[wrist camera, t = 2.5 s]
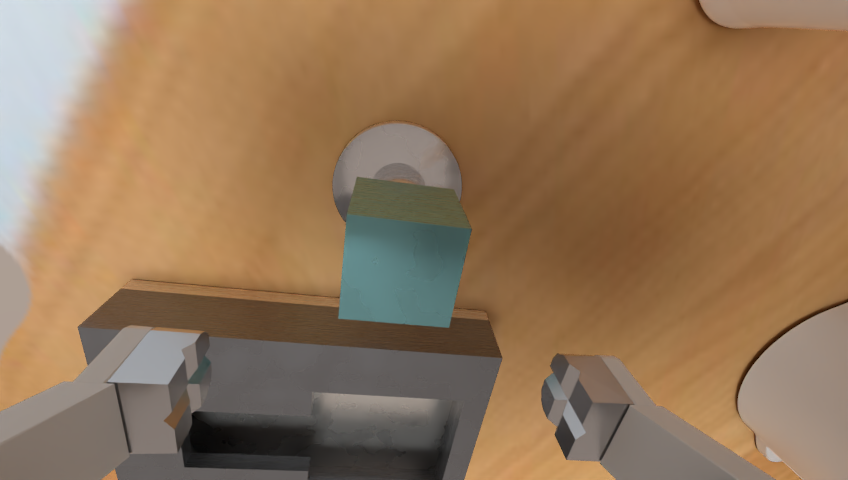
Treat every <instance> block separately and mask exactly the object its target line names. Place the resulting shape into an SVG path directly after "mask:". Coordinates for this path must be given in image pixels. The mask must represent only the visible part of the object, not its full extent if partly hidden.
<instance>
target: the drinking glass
mask: <svg viewBox="0 0 848 480" xmlns="http://www.w3.org/2000/svg"><path fill="white" fill-rule="evenodd" d="M699 2H700V5H701V7H702V9H703V11H704V12H705V14H706V15H707V16H708V17H709V18H710V19H711V20H712V21H714V22H715V23H717V24H719V25H721V26H724V27H727V28H734V29H746V28H764V27H768V28H792V29H812V30H832V31H848V0H699Z"/></svg>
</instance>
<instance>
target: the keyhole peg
mask: <svg viewBox="0 0 848 480" xmlns="http://www.w3.org/2000/svg"><path fill="white" fill-rule="evenodd" d="M461 192H462V180H461V173H460V169H459V166H458V164H457V161H456V159H455V157H454V155H453V154H452V152H451V150H450V149H449V147H448V146H447V145H446V143H445V142H444V141H443V140H442V139H441V138H440V137H439V136H438V135H437V134H435V133H434V132H432V131H431V130H429V129H427V128H426V127H424V126H421V125H419V124H416V123H412V122H407V121H386V122H381V123H378V124H375V125H372V126H370V127H368V128H366V129H364V130H363V131H361V132H360V133H358V134H357V135H356V136H355V137H354V138H352V139H351V140H350V142H349V143H348V144H347V145H346V147H345V148H344V150H343V151H342V153H341V155H340V157H339V160H338V162H337V164H336V167H335V170H334V175H333V196H334V200H335V204H336V207H337V209H338V211H339V213H340V215H341V217H342V218H343V220H344V221H345V222H346V231H345V243H344V255H343V267H342V280H341V292H340V304H339V316H338V319H348V320H360V321H372V322H385V323H397V324H409V325H421V326H433V327H445V328H449V326H450V321H451V317H452V313H453V308H454V304H455V300H456V295H457V291H458V287H459V282H460V278H461V274H462V269H463V265H464V261H465V256H466V252H467V248H468V243H469V239H470V235H471V230H472V228H471V226H470V224H469V222H468V219H467V217H466V215H465V213H464V210H463V208H462V206H461V204H460V199H461Z"/></svg>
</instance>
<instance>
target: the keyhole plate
mask: <svg viewBox="0 0 848 480" xmlns="http://www.w3.org/2000/svg"><path fill="white" fill-rule="evenodd" d="M339 304H340V298H333V297H322V296H311V295H300V294H289V293H278V292H266V291H255V290H244V289H233V288H222V287H211V286H199V285H188V284H177V283H166V282H155V281H144V280H132V279H131V280H130V281H129V282H128V283H127V284H126V285H125V286H123V287H122V288H121V289H120V290H119V291H118V292H117V293H115V294H114V295H113V296H112V297H111V298H110V299H109V300H108V301H106V302H105V303H104V304H103V305H102V306H101V307H100V308H99V309H97V310H96V311H95V312H94V313H93V314H92V315H91V316H90V317H88V318H87V319H86V320H85V321H84V322H83V323H82V324H81V325H79V326H78V330H79V334H80V338H81V341H82V345H83V349H84V353H85V357H86V360H87V364H88V365H89V364H90V363H91V362H92V361H93V360H94V359H95V358H96V357H97V356H98V355H99V353H100V352H101V351H102V350H103V349H104V348H105V347H106V346H107V345H108V344H109V343H110V342H111V341H112V340H113V339H114V338H115V336H116V335H117V334H118V333H119V332H120V331H121V330H122V329H123V328H125V327H128V326H130V325H133V326H145V327H155V328H156V327H162V328H174V329H185V330H197V331H205V332H207V333H208V334H209V343H210V347H209V349H208V351H207V352H206V354H205V356H206V357H207V358H208V359H209V360H210V362H211V368H212V373H211V382H210V386H209V389H208V393H207V396H206V398H205V400H204V402H203V404H202V406H201V407H200V408H199V409H197V410H196V411H194V412H193V413H191V416H192V426H191V428H190V430H189V432H188V434H187V436H186V438H185V440H184V442H183V444H182V446H181V448H180V450H179V452H178V453H173V454H129V455H130V456H129V457H128V458H127V459H126V460H125V461H124V462H122V463H121V464H120V465H119V466H117V467H116V468H115V470H116V474H117V478H118V480H464V478H465V475H466V472H467V469H468V466H469V463H470V459H471V456H472V453H473V450H474V447H475V443H476V440H477V437H478V434H479V431H480V428H481V424H482V421H483V418H484V415H485V412H486V409H487V405H488V402H489V399H490V396H491V393H492V389H493V386H494V383H495V380H496V377H497V374H498V370H499V367H500V364H501V361H502V356H501V353H500V350H499V347H498V345H497V342H496V339H495V336H494V333H493V331H492V328H491V325H490V322H489V319H488V317H487V314H486V311H479V310H467V309H456V308H453V313H452V317H451V321H450V326H449V328H445V327H433V326H421V325H409V324H397V323H385V322H372V321H360V320H348V319H338V316H339Z"/></svg>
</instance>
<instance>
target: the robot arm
mask: <svg viewBox="0 0 848 480" xmlns="http://www.w3.org/2000/svg"><path fill="white" fill-rule="evenodd" d="M209 347H210V343H209V334H208V333H207V332H205V331H197V330H185V329H174V328H162V327H156V328H155V327H145V326H133V325H130V326H128V327H125V328H123V329H122V330H121V331H120V332H119V333H118V334H117V335H116V336H115V338H114V339H113V340H112V341H111V342H110V343H109V344H108V345H107V346H106V347H105V348H104V349H103V350H102V351H101V352H100V353H99V355H98V356H97V357H96V358H95V359H94V360H93V361H92V362H91V363H90V364H89V365H88V366H87V367H86V368H85V369H84V371H83V372H82V373H81V374H80V375H79V376H78V377H77V378H76V379H75V380H74V381H73V382H62V383H60V384H58V385H56V386H53V387H51V388H49V389H47V390H45V391H43V392H41V393H39V394H37V395H34V396H32V397H30V398H28V399H26V400H24V401H22V402H20V403H17V404H15V405H13V406H11V407H9V408H7V409H5V410H3V411H1V412H0V480H101V479H102V478H104V477H105V476H106V475H107V474H109V473H110V472H111V471H112V470H114V469H115V468H116V467H117V466H119V465H120V464H121V463H122V462H124V461H125V460H126V459H127V458H128V457H129V456H130V455H129V454H173V453H178V452H179V450H180V448H181V446H182V444H183V442H184V440H185V438H186V436H187V434H188V432H189V430H190V428H191V426H192V416H191V413H193V412H194V411H196V410H197V409H199V408H200V407H201V406H202V404H203V402H204V400H205V398H206V396H207V393H208V389H209V386H210V382H211V373H212V368H211V362H210V360H209V359H208V358H207V357H206V356H205V354H206V352H207V351H208V349H209ZM550 366H551V369H552V371H553V373H552V374H551V375H550V376H549V377H547V378H546V379H545V381H544V384H543V387H542V398H541V401H542V405H543V410H544V412H545V414H546V417H547V419H549V420H550V421H551V422H552V423H553V424H554V425H556V426H557V428H556V432H555V436H556V439H557V441H558V443H559V445H560V447H561V449H562V451H563V454H564V456H565V458H566V460H580V461H601V462H600V464H601V465H602V466H603V467H604V468H605V469H606V470H607V471H608V472H609V473H610V474H611V475H612V476H613V477H614V478H615V479H616V480H776V479H774V478H773V477H771V476H770V475H768V474H766V473H765V472H763V471H762V470H760V469H759V468H757V467H756V466H754V465H752V464H751V463H749V462H748V461H746V460H745V459H743V458H742V457H740V456H738V455H737V454H735V453H734V452H732V451H731V450H729V449H728V448H726V447H725V446H723V445H721V444H720V443H718V442H717V441H715V440H714V439H712V438H711V437H709V436H707V435H706V434H704V433H703V432H701V431H700V430H698V429H697V428H695V427H693V426H692V425H690V424H689V423H687V422H686V421H684V420H683V419H681V418H680V417H678V416H676V415H675V414H673V413H672V412H670V411H669V410H667V409H666V408H664V407H662V406H656V405H655V404H654V402H653V401H652V400H651V399H650V397H649V396H648V395H647V393H646V392H645V391H644V390H643V388H642V387H641V386H640V385H639V383H638V382H637V381H636V380H635V378H634V377H633V376H632V374H631V373H630V372H629V371H628V369H627V368H626V367H625V366H624V364H623V363H622V362H621V361H620V359H618V358H617V357H615V356H607V355H594V356H593V355H577V354H559V353H558V354H557V355H556V356H555V357H554V358H553V360H552V362H551V365H550ZM738 411H739V414H740V417H741V419H742V420H743V422H744V423H745V424H746V425H747V426H748V427H749V428H750V429H751V430H752V431H753V432H754V433H755V435H756V445H757V449H758V451H759V452H760V453H762V454H763V455H764V456H765V457H766V458H767V459H768V460H769V461H772V462H779V461H783V462H784V463H785V464H786V465H787V466H788V467H789V468H790V469H791V470H793V471H794V472H795V473H796V474H797V475H798V476H799V477H800V478H801V479H802V480H848V303H845V304H843V305H840V306H837V307H835V308H832V309H829V310H827V311H825V312H822V313H820V314H818V315H816V316H814V317H812V318H810V319H808V320H806V321H804V322H803V323H801V324H799V325H798V326H796V327H794V328H793V329H791V330H790V331H789V332H787V333H786V334H784V335H783V336H782V337H780V338H779V339H778V340H777V341H776V342H774V343H773V344H772V345H771V346H770V347H769V348H768V349H767V350H766V351H765V352H764V353H763V354H762V355H761V356H760V357H759V358H758V359H757V361H756V362H755V363H754V364H753V366H752V367H751V369H750V370H749V372H748V373H747V375H746V377H745V379H744V381H743V383H742V385H741V388H740V391H739V395H738Z"/></svg>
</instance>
